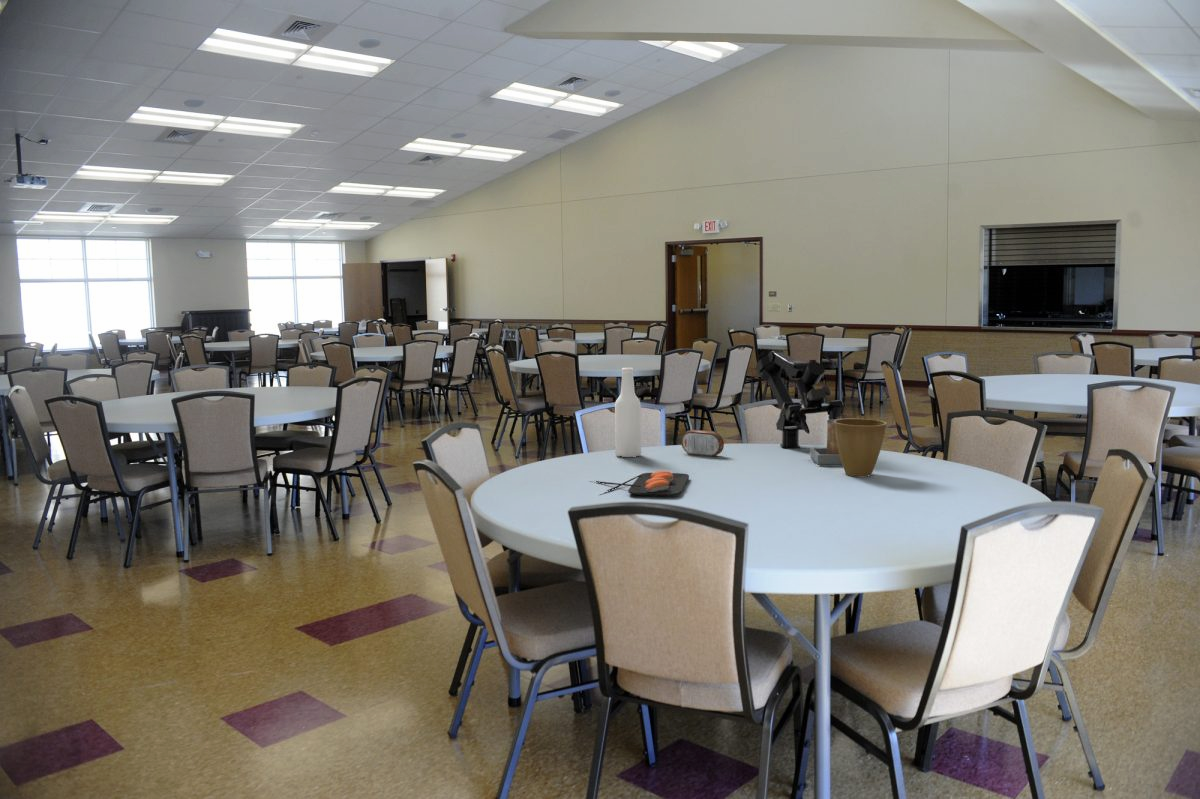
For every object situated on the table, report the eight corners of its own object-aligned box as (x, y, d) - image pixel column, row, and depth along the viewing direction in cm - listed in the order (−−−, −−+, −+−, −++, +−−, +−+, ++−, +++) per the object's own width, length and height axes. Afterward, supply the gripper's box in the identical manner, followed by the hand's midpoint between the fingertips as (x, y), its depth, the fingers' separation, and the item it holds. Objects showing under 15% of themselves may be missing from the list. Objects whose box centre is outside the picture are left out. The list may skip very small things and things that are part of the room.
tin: (724, 456, 308) (724, 431, 307) (720, 457, 306) (720, 432, 305) (684, 452, 316) (684, 428, 315) (680, 454, 314) (680, 429, 313)
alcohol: (629, 452, 318) (628, 366, 314) (646, 455, 311) (645, 367, 308) (610, 455, 312) (609, 368, 309) (627, 458, 305) (626, 369, 302)
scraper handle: (826, 459, 296) (827, 419, 294) (837, 458, 297) (838, 419, 295) (833, 461, 292) (833, 421, 290) (844, 460, 293) (844, 420, 291)
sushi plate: (679, 500, 244) (679, 486, 243) (569, 497, 250) (569, 483, 249) (690, 479, 272) (690, 467, 272) (591, 477, 278) (591, 464, 278)
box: (810, 458, 302) (810, 447, 301) (852, 458, 301) (852, 447, 300) (817, 465, 288) (817, 455, 288) (861, 465, 287) (861, 454, 287)
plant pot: (833, 478, 268) (834, 424, 266) (833, 469, 282) (833, 417, 281) (886, 480, 264) (887, 425, 263) (883, 470, 279) (884, 418, 277)
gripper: (786, 382, 302) (800, 420, 293) (840, 376, 305) (855, 414, 296) (779, 401, 311) (792, 439, 302) (832, 395, 314) (846, 433, 305)
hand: (822, 431), depth 301 cm, fingers open, 9 cm apart
